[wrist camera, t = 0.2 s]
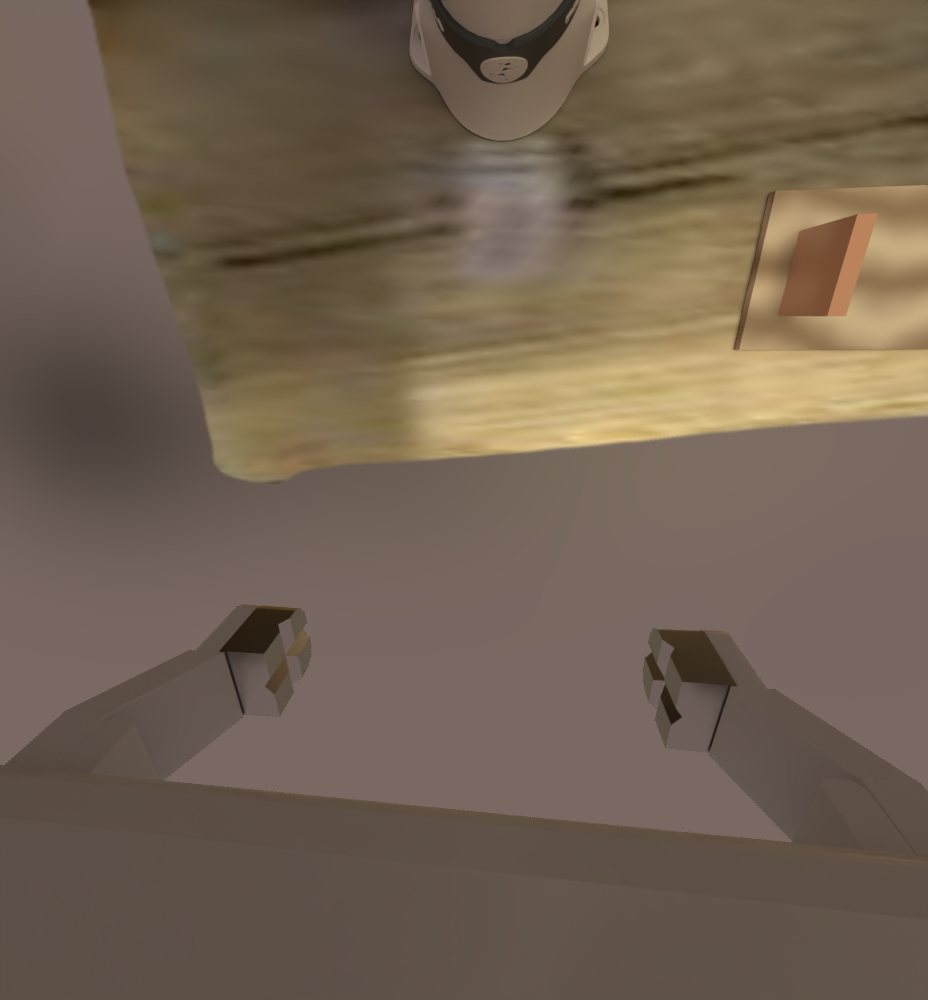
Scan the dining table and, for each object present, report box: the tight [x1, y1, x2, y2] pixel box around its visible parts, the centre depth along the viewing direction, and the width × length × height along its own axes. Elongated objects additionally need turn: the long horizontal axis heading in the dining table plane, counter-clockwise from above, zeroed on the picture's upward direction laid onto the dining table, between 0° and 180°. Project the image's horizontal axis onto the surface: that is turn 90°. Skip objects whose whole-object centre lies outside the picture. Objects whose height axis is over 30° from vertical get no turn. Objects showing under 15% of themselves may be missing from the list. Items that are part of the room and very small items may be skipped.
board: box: [734, 185, 928, 350], centre depth 45 cm, size 15×22×1 cm
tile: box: [778, 213, 878, 316], centre depth 42 cm, size 8×2×8 cm, turn 1°
